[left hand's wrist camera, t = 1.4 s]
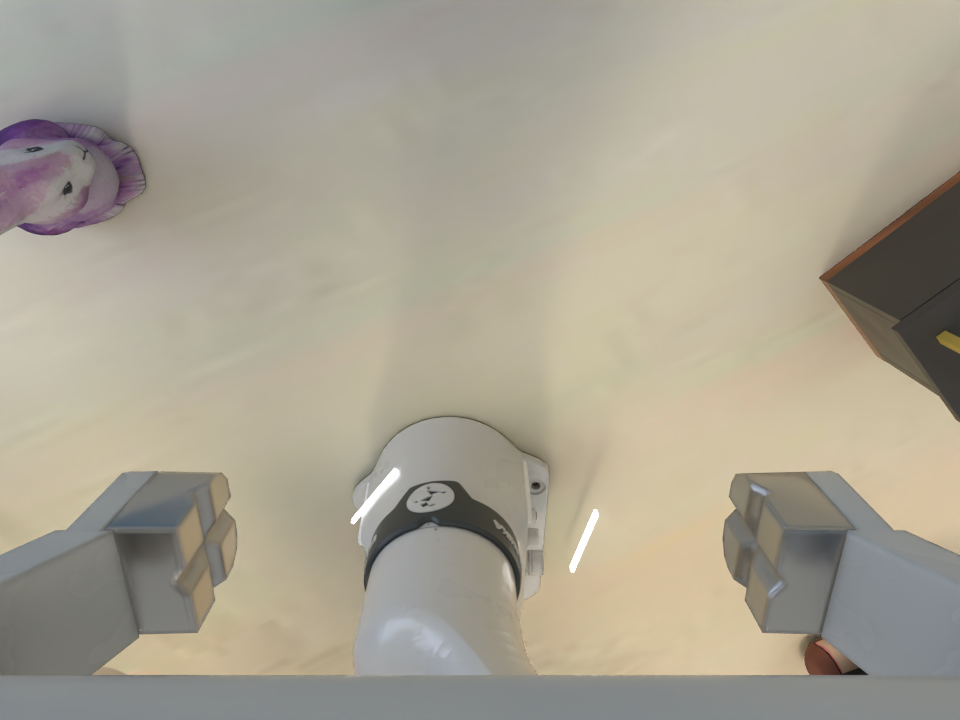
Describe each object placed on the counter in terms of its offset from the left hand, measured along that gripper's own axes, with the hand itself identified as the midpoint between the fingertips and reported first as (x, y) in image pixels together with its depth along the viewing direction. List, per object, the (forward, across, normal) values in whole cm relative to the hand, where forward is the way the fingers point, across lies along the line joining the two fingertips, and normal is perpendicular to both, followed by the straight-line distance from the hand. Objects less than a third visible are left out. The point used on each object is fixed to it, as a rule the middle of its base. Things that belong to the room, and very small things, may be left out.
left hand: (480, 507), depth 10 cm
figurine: (+44, -31, +1) cm, 54 cm away
